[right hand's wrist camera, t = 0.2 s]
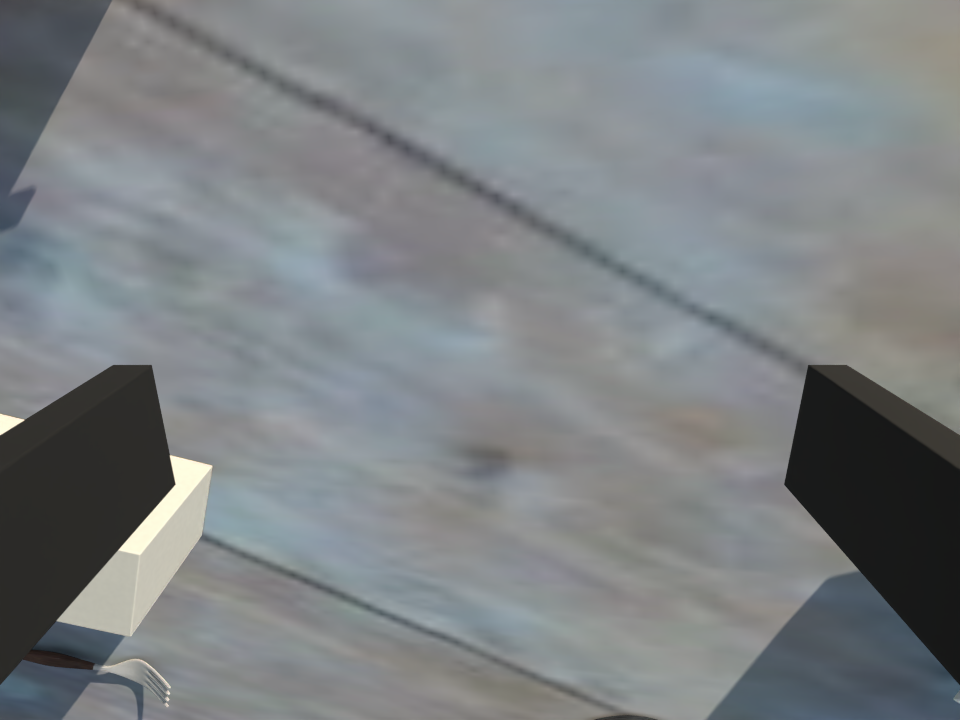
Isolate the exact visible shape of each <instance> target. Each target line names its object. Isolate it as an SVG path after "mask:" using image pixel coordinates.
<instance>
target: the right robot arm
mask: <svg viewBox="0 0 960 720" xmlns="http://www.w3.org/2000/svg"><path fill="white" fill-rule="evenodd" d="M175 485H176V484H175V479H174V474H173V469H172V464H171V459H170V454H169V449H168V444H167V439H166V434H165V429H164V424H163V419H162V414H161V409H160V404H159V399H158V394H157V389H156V384H155V379H154V375H153V370H152V365H113V366H111V367H109V368H108V369H106V370H105V371H103V372H101V373H100V374H98V375H96V376H95V377H93V378H92V379H90V380H88V381H87V382H85V383H84V384H82V385H80V386H79V387H77V388H76V389H74V390H72V391H71V392H69V393H67V394H66V395H64V396H63V397H61V398H59V399H58V400H56V401H55V402H53V403H51V404H50V405H48V406H47V407H45V408H43V409H42V410H40V411H38V412H37V413H35V414H34V415H32V416H30V417H29V418H27V419H26V420H24V421H22V422H21V423H19V424H18V425H16V426H14V427H13V428H11V429H10V430H8V431H6V432H5V433H3V434H1V435H0V685H1V683H2V682H3V681H4V680H5V679H6V678H7V677H8V675H9V674H10V673H11V672H12V671H13V670H14V669H15V667H16V666H17V665H18V664H19V663H20V662H21V661H22V659H23V658H24V657H25V656H26V655H27V654H28V653H29V651H30V650H31V649H32V648H33V647H34V646H35V645H36V643H37V642H38V641H39V640H40V639H41V638H42V637H43V635H44V634H45V633H46V632H47V631H48V630H49V629H50V628H51V626H52V625H53V624H54V623H55V622H56V621H57V620H58V618H59V617H60V616H61V615H62V614H63V613H64V612H65V610H66V609H67V608H68V607H69V606H70V605H71V604H72V602H73V601H74V600H75V599H76V598H77V597H78V596H79V594H80V593H81V592H82V591H83V590H84V589H85V588H86V586H87V585H88V584H89V583H90V582H91V581H92V580H93V578H94V577H95V576H96V575H97V574H98V573H99V572H100V570H101V569H102V568H103V567H104V566H105V565H106V564H107V562H108V561H109V560H110V559H111V558H112V557H113V556H114V554H115V553H116V552H117V551H118V550H119V549H120V548H121V546H122V545H123V544H124V543H125V542H126V541H127V540H128V538H129V537H130V536H131V535H132V534H133V533H134V532H135V531H136V529H137V528H138V527H139V526H140V525H141V524H142V523H143V521H144V520H145V519H146V518H147V517H148V516H149V515H150V513H151V512H152V511H153V510H154V509H155V508H156V507H157V505H158V504H159V503H160V502H161V501H162V500H163V499H164V497H165V496H166V495H167V494H168V493H169V492H170V491H171V489H172V488H173V487H174V486H175ZM784 485H785V486H786V487H787V488H788V489H789V491H790V492H791V493H792V494H793V495H794V496H795V497H796V499H797V500H798V501H799V502H800V503H801V504H802V505H803V507H804V508H805V509H806V510H807V511H808V512H809V513H810V515H811V516H812V517H813V518H814V519H815V520H816V521H817V523H818V524H819V525H820V526H821V527H822V528H823V529H824V531H825V532H826V533H827V534H828V535H829V536H830V537H831V539H832V540H833V541H834V542H835V543H836V544H837V545H838V546H839V548H840V549H841V550H842V551H843V552H844V553H845V554H846V556H847V557H848V558H849V559H850V560H851V561H852V562H853V564H854V565H855V566H856V567H857V568H858V569H859V570H860V572H861V573H862V574H863V575H864V576H865V577H866V578H867V580H868V581H869V582H870V583H871V584H872V585H873V586H874V588H875V589H876V590H877V591H878V592H879V593H880V594H881V596H882V597H883V598H884V599H885V600H886V601H887V602H888V604H889V605H890V606H891V607H892V608H893V609H894V610H895V612H896V613H897V614H898V615H899V616H900V617H901V618H902V620H903V621H904V622H905V623H906V624H907V625H908V626H909V628H910V629H911V630H912V631H913V632H914V633H915V634H916V635H917V637H918V638H919V639H920V640H921V641H922V642H923V643H924V645H925V646H926V647H927V648H928V649H929V650H930V651H931V653H932V654H933V655H934V656H935V657H936V658H937V659H938V661H939V662H940V663H941V664H942V665H943V666H944V667H945V669H946V670H947V671H948V672H949V673H950V674H951V675H952V677H953V678H954V679H955V680H956V681H957V682H958V683H959V685H960V435H959V434H957V433H955V432H954V431H952V430H950V429H949V428H947V427H946V426H944V425H942V424H941V423H939V422H938V421H936V420H934V419H933V418H931V417H930V416H928V415H926V414H925V413H923V412H922V411H920V410H918V409H917V408H915V407H913V406H912V405H910V404H909V403H907V402H905V401H904V400H902V399H901V398H899V397H897V396H896V395H894V394H893V393H891V392H889V391H888V390H886V389H884V388H883V387H881V386H880V385H878V384H876V383H875V382H873V381H872V380H870V379H868V378H867V377H865V376H864V375H862V374H860V373H859V372H857V371H855V370H854V369H852V368H851V367H849V366H847V365H808V370H807V375H806V379H805V384H804V389H803V394H802V399H801V404H800V409H799V414H798V419H797V424H796V429H795V434H794V439H793V444H792V449H791V454H790V459H789V464H788V469H787V474H786V479H785V484H784ZM596 720H656V719H652V718H647V717H641V716H611V717H605V718H600V719H596Z"/></svg>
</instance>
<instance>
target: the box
mask: <svg viewBox="0 0 960 720" xmlns="http://www.w3.org/2000/svg"><path fill="white" fill-rule="evenodd" d="M22 421H24V420H23V419H19V418H15V417H11V416H7V415H2V414H0V435H1V434H3V433H5V432H6V431H8V430H10V429H11V428H13V427H14V426H16V425H18V424H19V423H21V422H22ZM170 459H171V464H172V469H173V474H174V479H175V484H176V485H175V486H174V487H173V488H172V489H171V491H170V492H169V493H168V494H167V495H166V496H165V497H164V499H163V500H162V501H161V502H160V503H159V504H158V505H157V507H156V508H155V509H154V510H153V511H152V512H151V513H150V515H149V516H148V517H147V518H146V519H145V520H144V521H143V523H142V524H141V525H140V526H139V527H138V528H137V529H136V531H135V532H134V533H133V534H132V535H131V536H130V537H129V538H128V540H127V541H126V542H125V543H124V544H123V545H122V546H121V548H120V549H119V550H118V551H117V552H116V553H115V554H114V556H113V557H112V558H111V559H110V560H109V561H108V562H107V564H106V565H105V566H104V567H103V568H102V569H101V570H100V572H99V573H98V574H97V575H96V576H95V577H94V578H93V580H92V581H91V582H90V583H89V584H88V585H87V586H86V588H85V589H84V590H83V591H82V592H81V593H80V594H79V596H78V597H77V598H76V599H75V600H74V601H73V602H72V604H71V605H70V606H69V607H68V608H67V609H66V610H65V612H64V613H63V614H62V615H61V616H60V617H59V618H58V620H57V621H58V622H62V623H67V624H72V625H76V626H81V627H86V628H90V629H95V630H100V631H104V632H109V633H114V634H119V635H123V636H128V637H131V636H132V634H133V633H134V631H135V630H136V628H137V627H138V626H139V624H140V623H141V621H142V620H143V618H144V617H145V616H146V614H147V613H148V611H149V610H150V608H151V607H152V606H153V604H154V603H155V601H156V600H157V598H158V597H159V596H160V594H161V593H162V591H163V590H164V588H165V587H166V586H167V584H168V583H169V581H170V580H171V578H172V577H173V576H174V574H175V573H176V571H177V570H178V568H179V567H180V566H181V564H182V563H183V561H184V560H185V558H186V557H187V556H188V554H189V553H190V551H191V550H192V548H193V547H194V546H195V544H196V543H197V541H198V540H199V538H200V537H201V536H202V530H203V524H204V518H205V511H206V505H207V498H208V492H209V485H210V479H211V473H212V465H208V464H204V463H199V462H195V461H191V460H187V459H183V458H179V457H175V456H171V455H170Z"/></svg>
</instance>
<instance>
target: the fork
mask: <svg viewBox="0 0 960 720" xmlns="http://www.w3.org/2000/svg"><path fill="white" fill-rule="evenodd" d="M23 660H27V661H31V662H34V663H38V664H43V665H48V666H54V667H64V668H77V669H90V670H100V671H106V672H110V673H114V674H117V675H119V676H122V677H125V678H127V679H130V680H132V681H134V682H137V683H139V684H141V685H143V686H144V687H146V688H147V689H149V690H150V691H151V692H152V693H154V694H155V695H156V696H157V697H158V698H159V699H160V700H161V701H162V702H163V704H164V705H165V706H166V707H168V706H169V705H168V704H167V703H166V701H165V700H164V699H163V698H162V697H161V696H160V695H159V694H158V693H157V692H156V691H155V690H154V689H153V688H152V687H151V686H150V685H149V684H151V685H152V686H153V687H154V688H155V689H156V690H157V691H158V692H160V694H161V695H162V696H163V697H164V698H165V699H166V700H167V701H169V698H168V697H167V696H166V695H165V693H164V692H163V691H162V690H161V689H160V688H159V687H158V686H157V685H156V684H155V683H154V682H153V681H152V680H151V679H150V678H152V679H153V680H154V681H155V682H156V683H157V684H158V685H159V686H160V687H161V688H162V689H163V690H164V691H165V692H166V693H167V694H168V695H169V694H170V692H169V691H168V690H167V689H166V688H165V686H164V685H163V684H162V683H161V682H160V681H159V680H158V679H157V678H156V677H155V676H154V675H153V674H152V673H151V672H153V673H154V674H155V675H156V676H157V677H158V678H159V679H160V680H161V681H162V682H163V683H164V684H165V685H166V686H167V687H168V688H171V687H170V685H169V684H168V683H167V682H166V681H165V679H164V678H163V677H162V676H161V675H160V674H159V673H158V672H157V671H156V670H155V669H154V668H152V667H151V666H150V665H149V664H147V663H146V662H144V661H143V660H140V659H130V660H127V661H124V662H121V663H118V664H116V665H112V666H103V665H99V664H95V663H92V662H88V661H85V660H81V659H78V658H75V657H71V656H68V655H64V654H60V653H55V652H49V651H41V650H30V651H29V653H28V654H27V655H26V656H25V657H24V658H23ZM149 670H150V671H151V672H150V671H149ZM149 677H150V678H149ZM148 683H149V684H148Z"/></svg>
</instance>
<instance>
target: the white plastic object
mask: <svg viewBox="0 0 960 720" xmlns="http://www.w3.org/2000/svg"><path fill="white" fill-rule="evenodd" d="M953 700H955V701H956V702H958V703H960V690H959V691H958V693H957V694H956V696H955V697H954V698H953Z"/></svg>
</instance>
